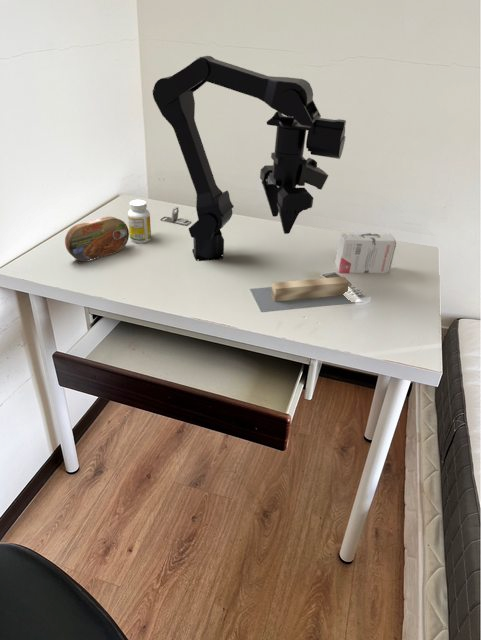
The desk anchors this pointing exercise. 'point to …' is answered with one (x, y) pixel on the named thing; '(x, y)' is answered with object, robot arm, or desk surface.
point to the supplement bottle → (139, 222)
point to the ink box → (365, 252)
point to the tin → (96, 238)
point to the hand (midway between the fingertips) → (280, 224)
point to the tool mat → (292, 301)
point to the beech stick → (309, 288)
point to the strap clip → (176, 219)
